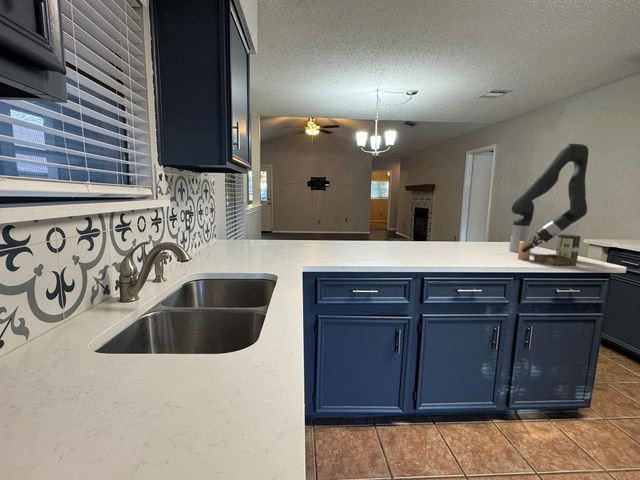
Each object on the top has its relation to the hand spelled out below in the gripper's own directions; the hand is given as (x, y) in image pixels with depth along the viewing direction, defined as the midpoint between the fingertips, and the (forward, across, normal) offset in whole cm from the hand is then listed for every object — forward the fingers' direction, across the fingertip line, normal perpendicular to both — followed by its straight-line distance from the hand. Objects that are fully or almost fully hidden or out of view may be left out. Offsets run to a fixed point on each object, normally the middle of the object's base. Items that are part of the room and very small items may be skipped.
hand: (521, 250), depth 181 cm
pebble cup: (+3, 0, +5) cm, 5 cm away
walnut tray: (-7, +3, +14) cm, 16 cm away
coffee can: (-13, -12, +20) cm, 27 cm away
